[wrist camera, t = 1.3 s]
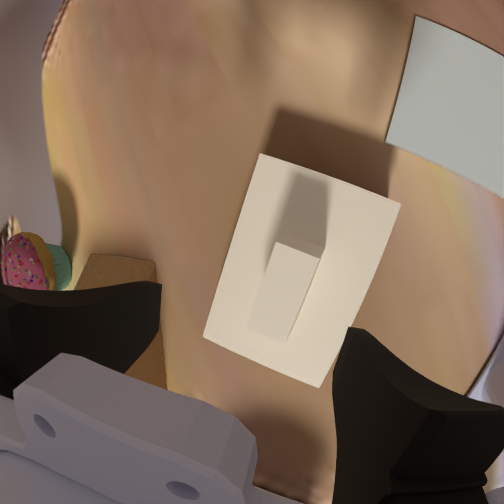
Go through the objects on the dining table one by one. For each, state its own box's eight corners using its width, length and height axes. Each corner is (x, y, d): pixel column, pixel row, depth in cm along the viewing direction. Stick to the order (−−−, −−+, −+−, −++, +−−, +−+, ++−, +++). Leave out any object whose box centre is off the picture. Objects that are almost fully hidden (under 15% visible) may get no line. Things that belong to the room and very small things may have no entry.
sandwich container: (159, 258, 26) (2, 311, 12) (171, 408, 28) (77, 502, 14) (89, 251, 28) (-44, 285, 14) (108, 385, 31) (13, 452, 17)
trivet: (535, 80, 14) (537, 78, 13) (515, 206, 16) (518, 206, 16) (415, 19, 16) (416, 15, 16) (384, 142, 19) (385, 141, 18)
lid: (397, 203, 17) (412, 204, 13) (321, 378, 20) (311, 418, 16) (265, 156, 19) (240, 143, 15) (210, 329, 22) (178, 357, 18)
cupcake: (78, 316, 30) (-9, 355, 19) (36, 283, 32) (-43, 307, 21) (87, 243, 28) (-17, 266, 17) (42, 216, 30) (-47, 228, 19)
